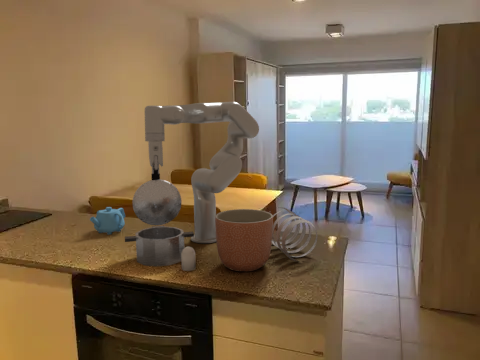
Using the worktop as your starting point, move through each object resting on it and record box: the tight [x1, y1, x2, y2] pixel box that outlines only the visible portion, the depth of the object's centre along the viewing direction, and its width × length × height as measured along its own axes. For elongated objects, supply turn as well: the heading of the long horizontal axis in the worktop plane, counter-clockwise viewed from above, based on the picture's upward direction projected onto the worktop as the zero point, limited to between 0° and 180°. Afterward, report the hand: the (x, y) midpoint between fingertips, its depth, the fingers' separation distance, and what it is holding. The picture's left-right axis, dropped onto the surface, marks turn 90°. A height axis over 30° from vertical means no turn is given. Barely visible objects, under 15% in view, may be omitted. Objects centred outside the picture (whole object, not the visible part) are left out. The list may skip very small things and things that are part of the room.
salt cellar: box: [181, 246, 196, 272], centre depth 153 cm, size 5×5×8 cm
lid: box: [132, 179, 182, 226], centre depth 171 cm, size 19×19×3 cm
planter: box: [215, 208, 274, 272], centre depth 154 cm, size 21×21×19 cm
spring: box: [272, 206, 318, 262], centre depth 172 cm, size 16×16×30 cm
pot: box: [124, 225, 195, 267], centre depth 165 cm, size 26×20×10 cm
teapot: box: [89, 206, 126, 236], centre depth 200 cm, size 20×17×12 cm
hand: (155, 183), depth 169 cm, fingers closed
